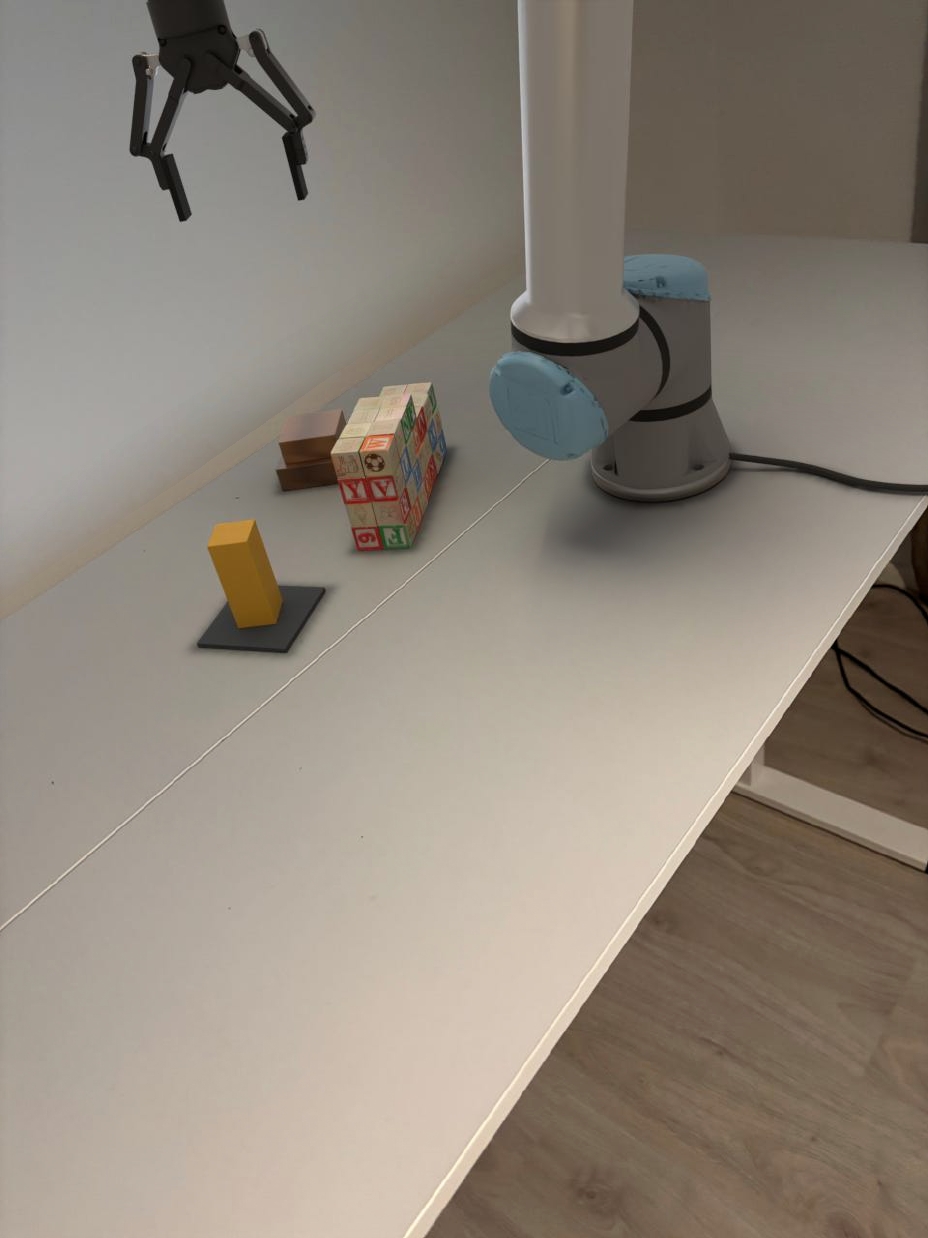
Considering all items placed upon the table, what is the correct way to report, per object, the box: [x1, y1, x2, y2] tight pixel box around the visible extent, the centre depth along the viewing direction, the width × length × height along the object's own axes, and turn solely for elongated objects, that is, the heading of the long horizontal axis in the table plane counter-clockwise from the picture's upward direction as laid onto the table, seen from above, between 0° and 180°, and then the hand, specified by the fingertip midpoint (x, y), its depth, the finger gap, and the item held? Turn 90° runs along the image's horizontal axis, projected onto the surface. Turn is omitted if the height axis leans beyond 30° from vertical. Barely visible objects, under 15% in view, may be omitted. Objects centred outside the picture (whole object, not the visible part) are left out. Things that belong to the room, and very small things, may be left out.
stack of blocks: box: [331, 381, 448, 551], centre depth 115 cm, size 21×6×12 cm, turn 170°
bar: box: [206, 518, 283, 628], centre depth 101 cm, size 4×4×10 cm
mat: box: [196, 585, 326, 653], centre depth 105 cm, size 10×10×1 cm
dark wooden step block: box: [275, 408, 347, 492], centre depth 127 cm, size 9×9×6 cm
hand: (244, 208), depth 114 cm, fingers open, 13 cm apart
